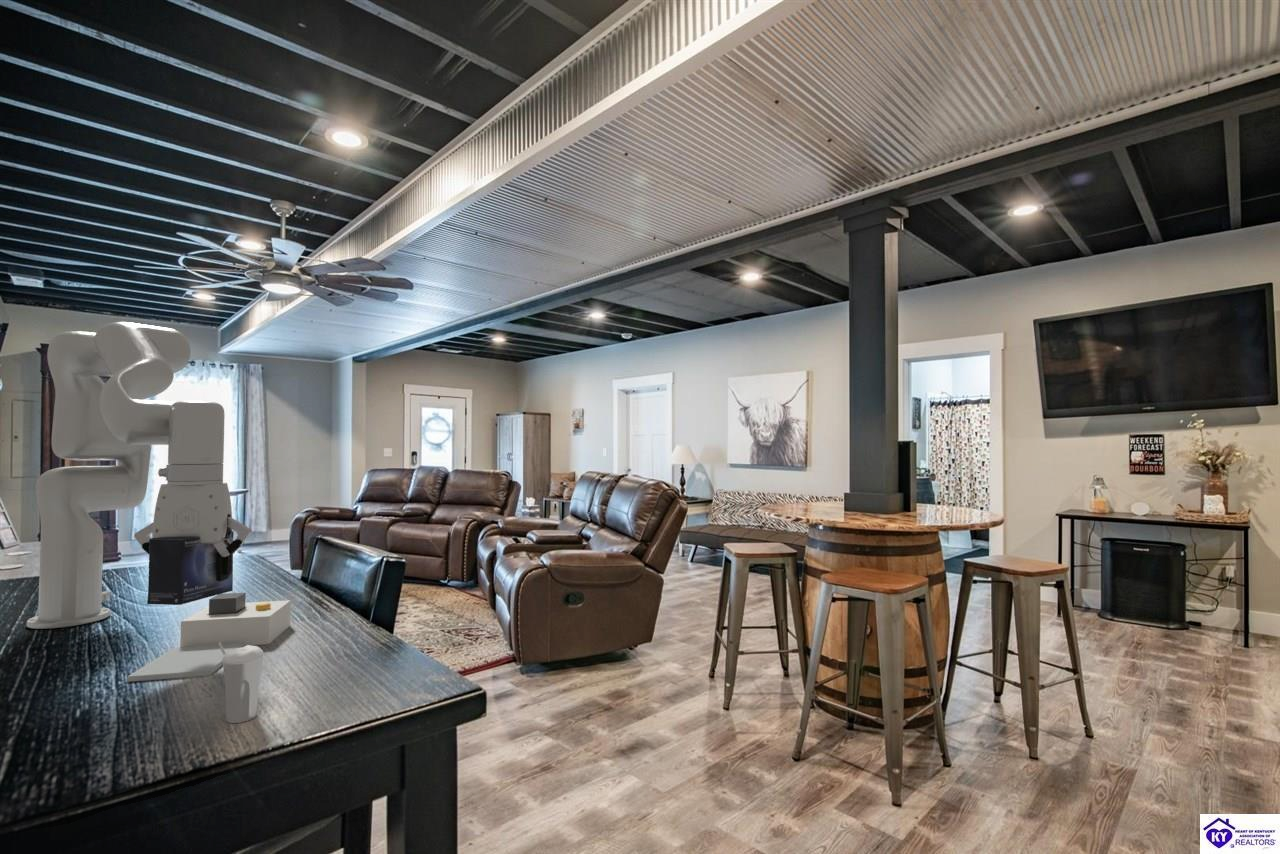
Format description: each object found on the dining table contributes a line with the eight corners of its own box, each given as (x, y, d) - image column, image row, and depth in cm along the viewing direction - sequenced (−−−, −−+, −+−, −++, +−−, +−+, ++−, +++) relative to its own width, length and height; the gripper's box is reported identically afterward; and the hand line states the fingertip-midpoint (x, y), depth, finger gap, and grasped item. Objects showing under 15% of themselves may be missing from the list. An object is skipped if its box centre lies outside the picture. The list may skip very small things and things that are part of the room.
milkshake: (227, 711, 82) (229, 636, 83) (268, 710, 83) (270, 635, 83) (206, 726, 78) (208, 647, 78) (250, 725, 78) (252, 646, 79)
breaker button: (218, 625, 116) (219, 593, 117) (244, 624, 117) (245, 592, 118) (208, 632, 112) (209, 599, 112) (235, 630, 113) (236, 598, 113)
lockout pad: (174, 652, 107) (174, 647, 107) (245, 647, 109) (245, 642, 109) (127, 681, 93) (127, 676, 93) (209, 675, 95) (209, 670, 96)
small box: (181, 606, 95) (181, 538, 96) (145, 605, 96) (145, 538, 97) (235, 590, 106) (235, 529, 106) (202, 590, 107) (202, 529, 107)
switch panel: (210, 630, 119) (211, 600, 120) (290, 625, 123) (290, 596, 123) (180, 650, 108) (181, 616, 108) (268, 644, 111) (269, 611, 111)
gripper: (121, 476, 96) (118, 589, 96) (245, 475, 101) (243, 583, 100) (147, 474, 104) (144, 579, 103) (262, 473, 108) (260, 574, 107)
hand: (193, 580), depth 101 cm, fingers closed on small box, 8 cm apart
